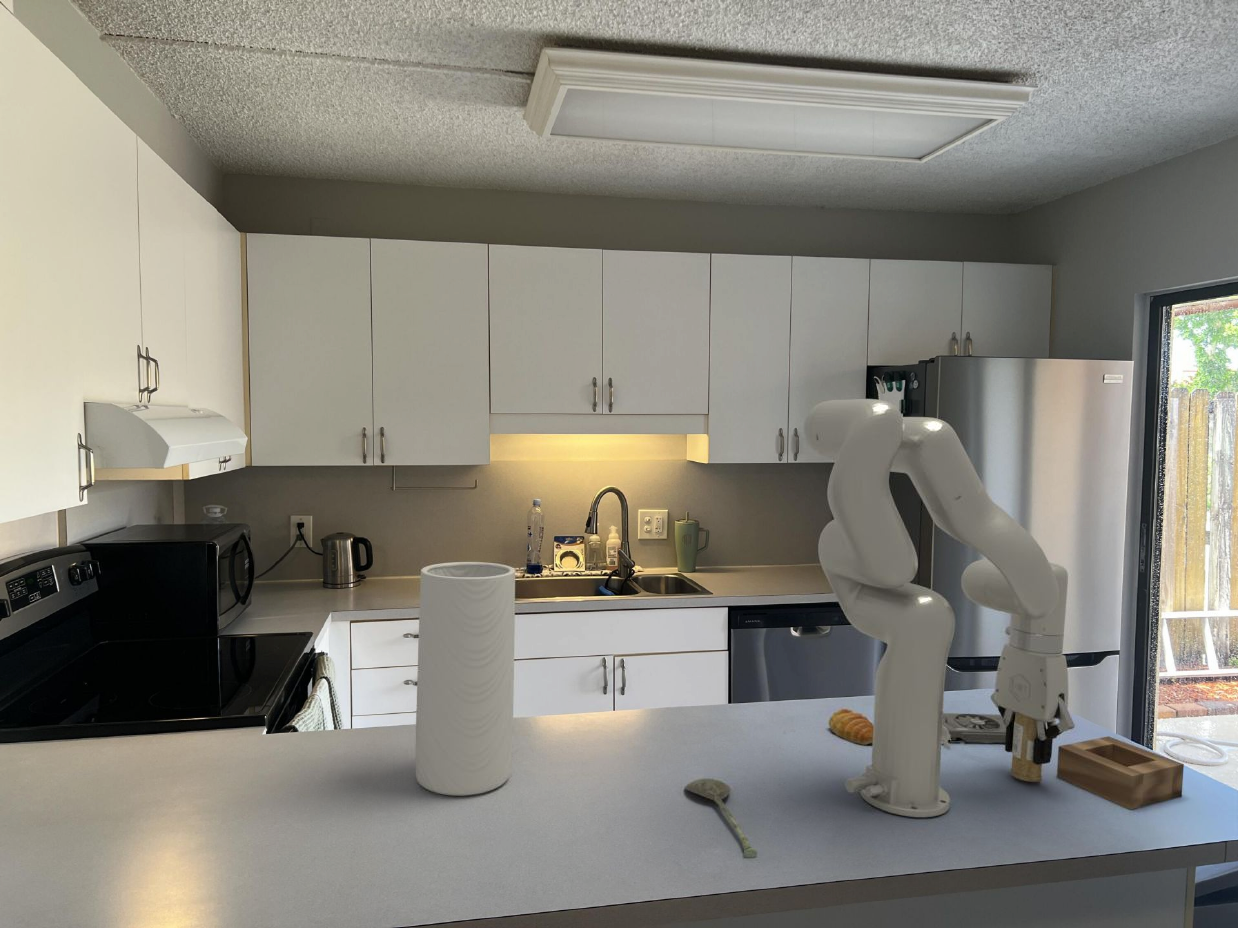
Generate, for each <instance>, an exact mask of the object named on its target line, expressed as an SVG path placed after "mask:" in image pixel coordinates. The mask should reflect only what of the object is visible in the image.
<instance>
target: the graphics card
mask: <svg viewBox="0 0 1238 928" xmlns="http://www.w3.org/2000/svg"><path fill="white" fill-rule="evenodd" d="M957 738H959V739H960V740H958V741H957ZM961 738H962V739H963V740H964V741H963V740H962V739H961ZM1005 738H1006V726H1005V725H1004V724H1003V717H1002V716H1001V714H986V713H983V714H981V713H954V712H953V713H950V712H949V713H948V712H943V721H942V741H941V745H943V746H944V747H945V748H946V749H948V750H951V745H950V743H959V744H960V743H961V744H960V745H965V744H966V743H993V742H994V743H997V744H999V743H1001V744H1003V743H1005ZM950 739H951V740H950ZM949 740H950V743H949ZM952 740H956V741H952ZM1002 742H1003V743H1002ZM962 743H963V744H962ZM994 743H993V744H994Z"/></svg>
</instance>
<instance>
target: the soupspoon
mask: <svg viewBox="0 0 1238 928" xmlns="http://www.w3.org/2000/svg"><path fill="white" fill-rule="evenodd" d="M684 789H685V790H687V791H689V792H692V793H694V794H696V795H699V796H700V797H701V796H702V797H704V798H707V799H709V800H711V801H713V802H715V804H716V805H718V807H719V808H720V809H721V811H722V812H723V813H724V814H725V817H727V819H728V820H729V822H730V824H731V825H732V827H733V828H734V830H735V832H736V833H737V835H738V836H739V838H740V839H739V841H740V843H741V844H742V848H743V855H742V857H743V858H756V857H757V855H758V852H757V850H756V849H755V848H753V847H752V846H751V845H750V842H749V841H748V838H747V837H746V836H745V834H744V833H743V831H742V829H741V827H740V825H739V824H738V822H737V821H736V819H735V818H734V816H733V815H732V814H731V812H730V810H729V809H728V807H727V805H726V804H725V803H724V802H723V799H725V798H726V797H727V796H728V795H729V793H730V792H731V791H732V789H731V787H730V786H729V785H728V784H726V783H725V782H723V781H721V780H718V779H714V778H700V779H696V780H693V781H691V782H690V783H689V782H688V784H687V785H685V787H684Z"/></svg>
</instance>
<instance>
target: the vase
mask: <svg viewBox="0 0 1238 928" xmlns="http://www.w3.org/2000/svg"><path fill="white" fill-rule="evenodd" d="M419 582H420V584H419V585H420V586H419V587H420V588H419V589H420V590H419V613H418V615H419V619H418V647H417V648H418V649H417V678H416V679H417V681H416V685H417V686H416V711H415V713H416V717H415V719H416V720H415V746H414V747H415V751H414V752H415V777H416V781H417V782H418V784H419V785H420V786H422V787H423V788H425V789H426V790H428V791H430V792H432V793H436V794H439V795H444V796H445V795H446V796H459V797H460V796H461V797H462V796H463V797H464V796H472V795H479V794H484V793H487V792H490V791H492V790H494V789H497V788H500V786H503V784H504V783H505V782H507V781H508V779H509V778H510V777H511V773H512V765H513V748H514V747H513V746H514V745H513V744H514V743H513V742H514V694H515V693H514V692H515V691H514V686H515V684H514V683H515V681H514V680H515V634H516V633H515V625H516V624H515V618H516V614H515V613H516V611H515V610H516V607H515V605H516V569H515V568H514V567H512V566H509V565H507V564H506V565H505V564H501V563H493V562H483V561H481V562H480V561H458V562H457V561H455V562H444V563H443V562H442V563H436V564H429V565H427V566H424V567H422V568H421V570H420V581H419Z"/></svg>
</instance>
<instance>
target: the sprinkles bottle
mask: <svg viewBox="0 0 1238 928" xmlns="http://www.w3.org/2000/svg"><path fill="white" fill-rule="evenodd" d="M1035 738H1039V737H1038V730H1037V722H1036V720H1034V719H1031V718H1029V717H1026V716H1023V715H1021V714H1018V713H1016V712H1015V721H1014V734H1013V747H1012V752H1011V754H1012V756H1011V758H1012V760H1011V769H1010V774H1011V775H1012V776H1013V777H1014V778H1016V779H1017V780H1021V781H1024V782H1030V783H1031V782H1033V783H1034V782H1036V783H1037V782H1040V781H1042V780H1043V774H1042V771H1043V769H1042V768H1043V764H1040V765H1036V764H1034V763H1033V750H1034V739H1035Z"/></svg>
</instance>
